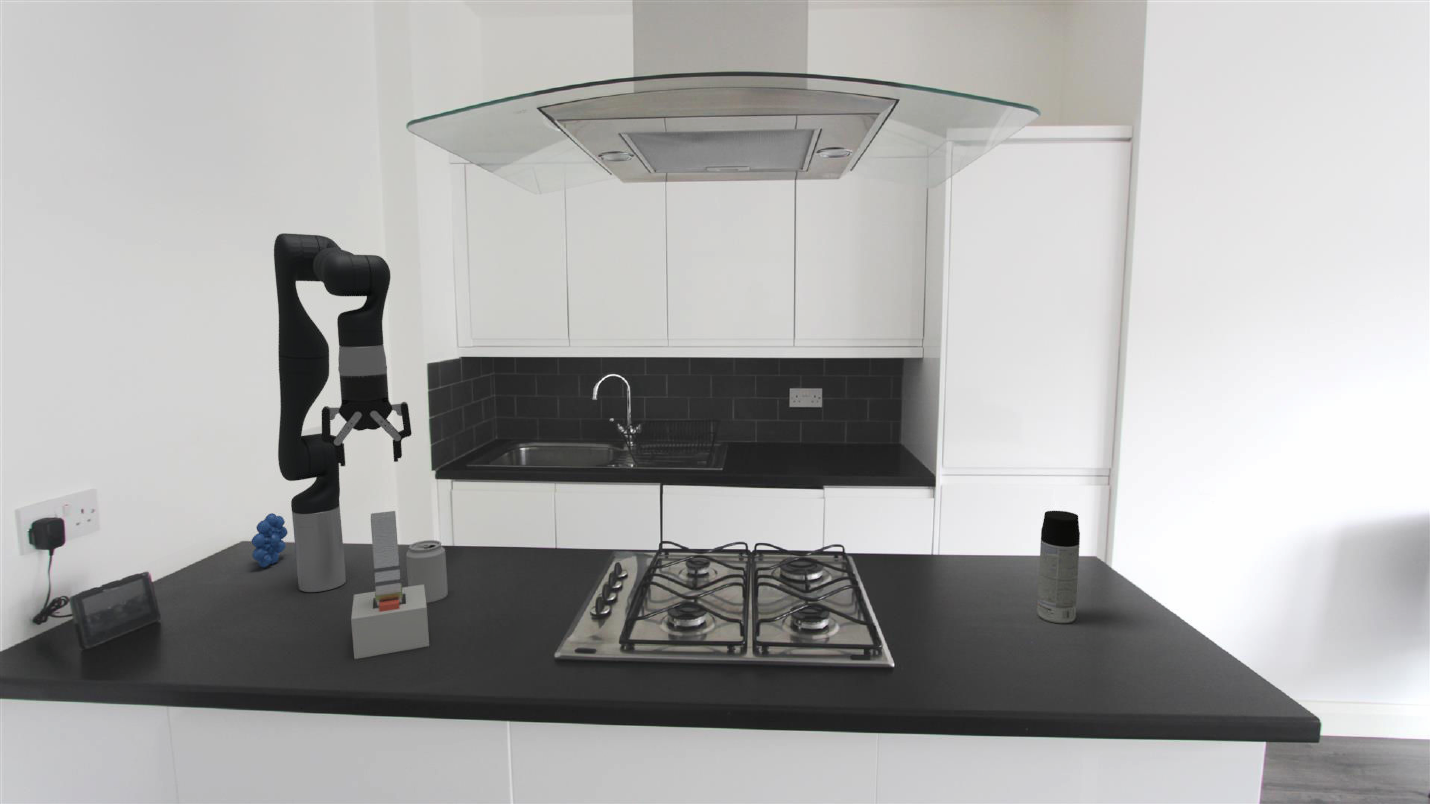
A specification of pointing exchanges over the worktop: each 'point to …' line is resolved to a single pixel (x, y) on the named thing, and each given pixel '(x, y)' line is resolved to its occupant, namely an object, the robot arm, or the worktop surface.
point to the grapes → (269, 540)
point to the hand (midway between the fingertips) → (369, 463)
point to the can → (428, 568)
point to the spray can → (1058, 567)
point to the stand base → (389, 623)
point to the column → (386, 557)
